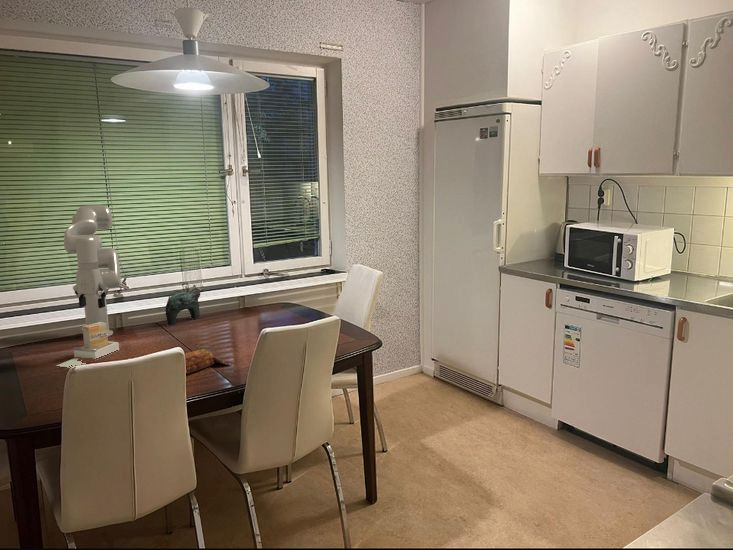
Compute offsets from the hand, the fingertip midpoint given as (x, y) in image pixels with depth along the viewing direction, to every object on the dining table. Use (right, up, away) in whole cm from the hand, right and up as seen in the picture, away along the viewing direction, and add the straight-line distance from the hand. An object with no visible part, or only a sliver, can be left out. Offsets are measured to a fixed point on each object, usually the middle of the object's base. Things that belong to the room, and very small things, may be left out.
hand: (92, 306), depth 233 cm
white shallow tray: (0, -20, +4) cm, 21 cm away
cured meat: (+48, -24, -14) cm, 56 cm away
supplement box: (0, -21, +4) cm, 21 cm away
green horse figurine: (+21, -11, +56) cm, 60 cm away
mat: (-3, -23, -8) cm, 24 cm away
